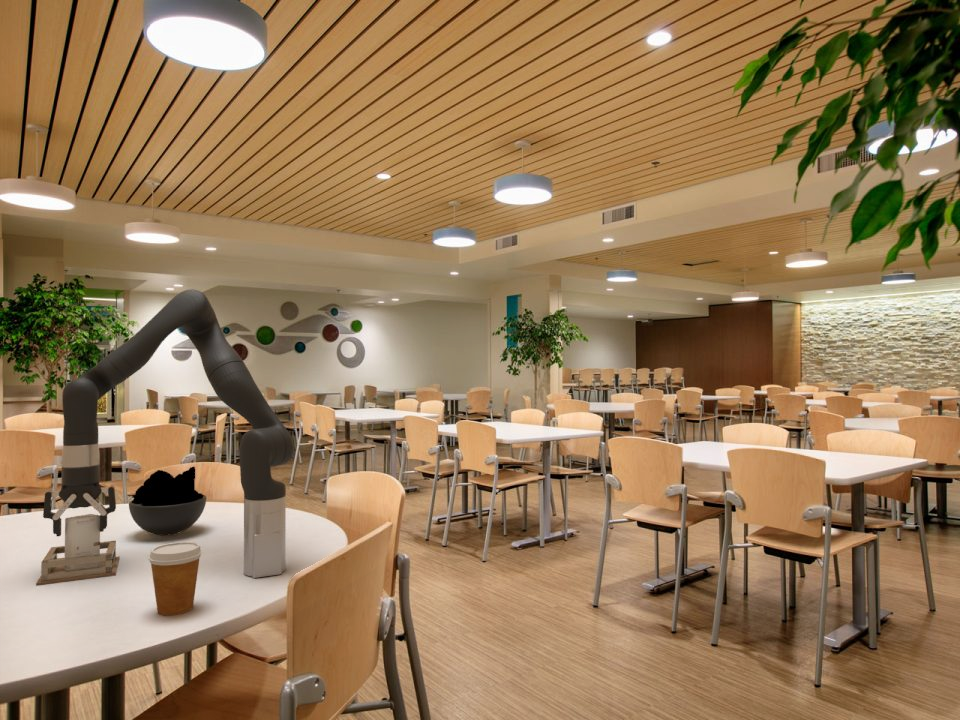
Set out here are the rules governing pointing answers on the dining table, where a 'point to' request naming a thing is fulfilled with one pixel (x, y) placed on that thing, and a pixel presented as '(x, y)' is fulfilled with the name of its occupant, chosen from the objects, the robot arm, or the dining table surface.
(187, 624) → the dining table surface
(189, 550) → the disposable coffee cup
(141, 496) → the bowl of black rocks
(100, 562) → the walnut board
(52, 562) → the shallow wooden tray
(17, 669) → the dining table surface
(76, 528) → the skincare box
